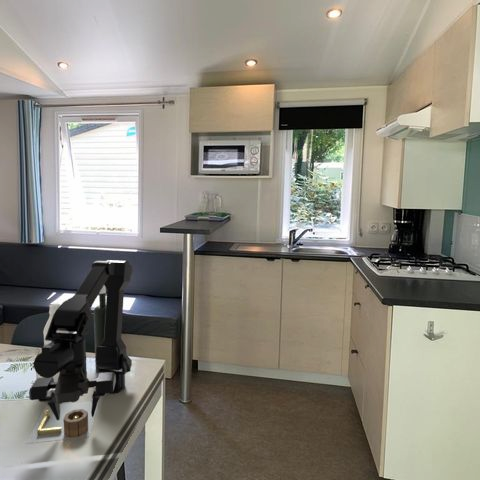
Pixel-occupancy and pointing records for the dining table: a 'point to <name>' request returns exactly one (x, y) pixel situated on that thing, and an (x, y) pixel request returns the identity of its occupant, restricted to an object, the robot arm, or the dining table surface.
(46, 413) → the bent rail
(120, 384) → the robot arm
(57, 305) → the water bottle
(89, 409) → the slate board
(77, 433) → the walnut ring
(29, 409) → the dining table surface
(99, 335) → the wine bottle
